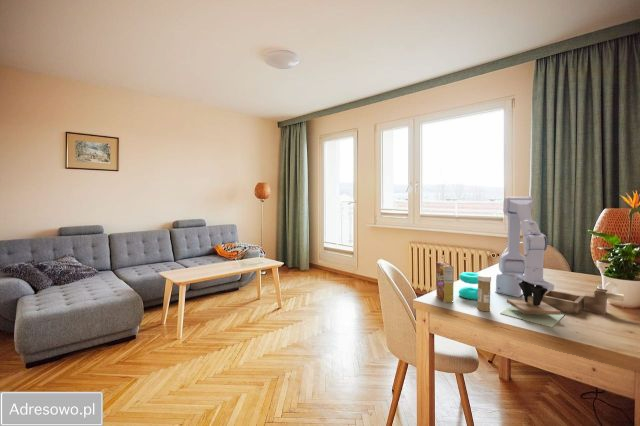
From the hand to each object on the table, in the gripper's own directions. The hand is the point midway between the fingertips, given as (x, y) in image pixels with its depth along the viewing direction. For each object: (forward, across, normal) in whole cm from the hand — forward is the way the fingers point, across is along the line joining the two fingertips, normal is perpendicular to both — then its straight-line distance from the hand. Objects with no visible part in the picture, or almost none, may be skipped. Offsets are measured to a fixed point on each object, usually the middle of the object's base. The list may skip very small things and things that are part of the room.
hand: (532, 303), depth 116 cm
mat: (+4, 0, 0) cm, 4 cm away
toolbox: (+4, +4, -18) cm, 19 cm away
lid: (+2, 0, 0) cm, 2 cm away
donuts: (+4, +23, +8) cm, 25 cm away
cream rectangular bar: (-2, -6, -28) cm, 29 cm away
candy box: (+4, +23, +21) cm, 31 cm away
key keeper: (+4, -2, -27) cm, 27 cm away
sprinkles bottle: (+4, +9, +14) cm, 17 cm away
